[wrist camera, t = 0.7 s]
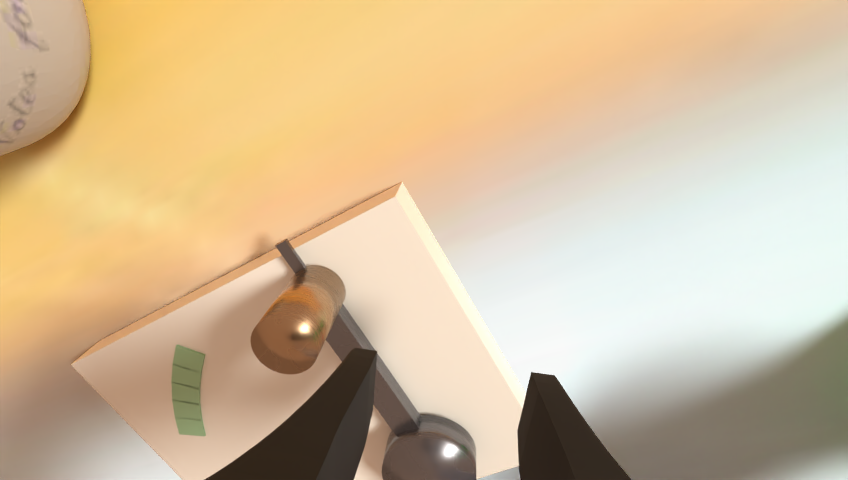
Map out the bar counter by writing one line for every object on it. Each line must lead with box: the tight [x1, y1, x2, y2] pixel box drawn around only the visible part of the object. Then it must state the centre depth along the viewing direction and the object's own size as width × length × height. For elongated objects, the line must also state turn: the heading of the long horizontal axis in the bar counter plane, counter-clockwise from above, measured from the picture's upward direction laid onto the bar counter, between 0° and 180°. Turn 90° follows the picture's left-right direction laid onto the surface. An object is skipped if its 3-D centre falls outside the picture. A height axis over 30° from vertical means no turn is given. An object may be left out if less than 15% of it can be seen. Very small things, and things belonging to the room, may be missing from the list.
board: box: [71, 182, 526, 480], centre depth 24 cm, size 15×19×2 cm
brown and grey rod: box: [250, 239, 476, 480], centre depth 20 cm, size 15×4×4 cm, turn 29°
